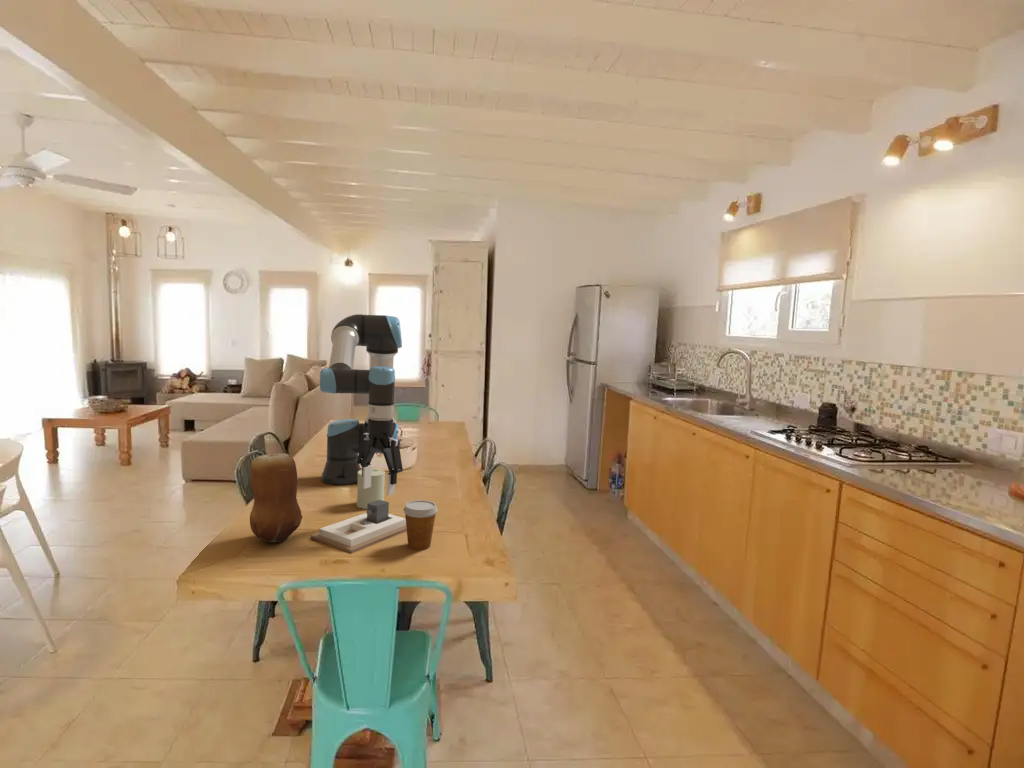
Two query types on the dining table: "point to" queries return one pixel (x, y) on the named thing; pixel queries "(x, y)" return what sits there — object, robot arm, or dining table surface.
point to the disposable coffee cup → (420, 523)
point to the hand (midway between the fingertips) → (378, 490)
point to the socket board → (360, 532)
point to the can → (370, 488)
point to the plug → (377, 511)
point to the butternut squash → (274, 497)
